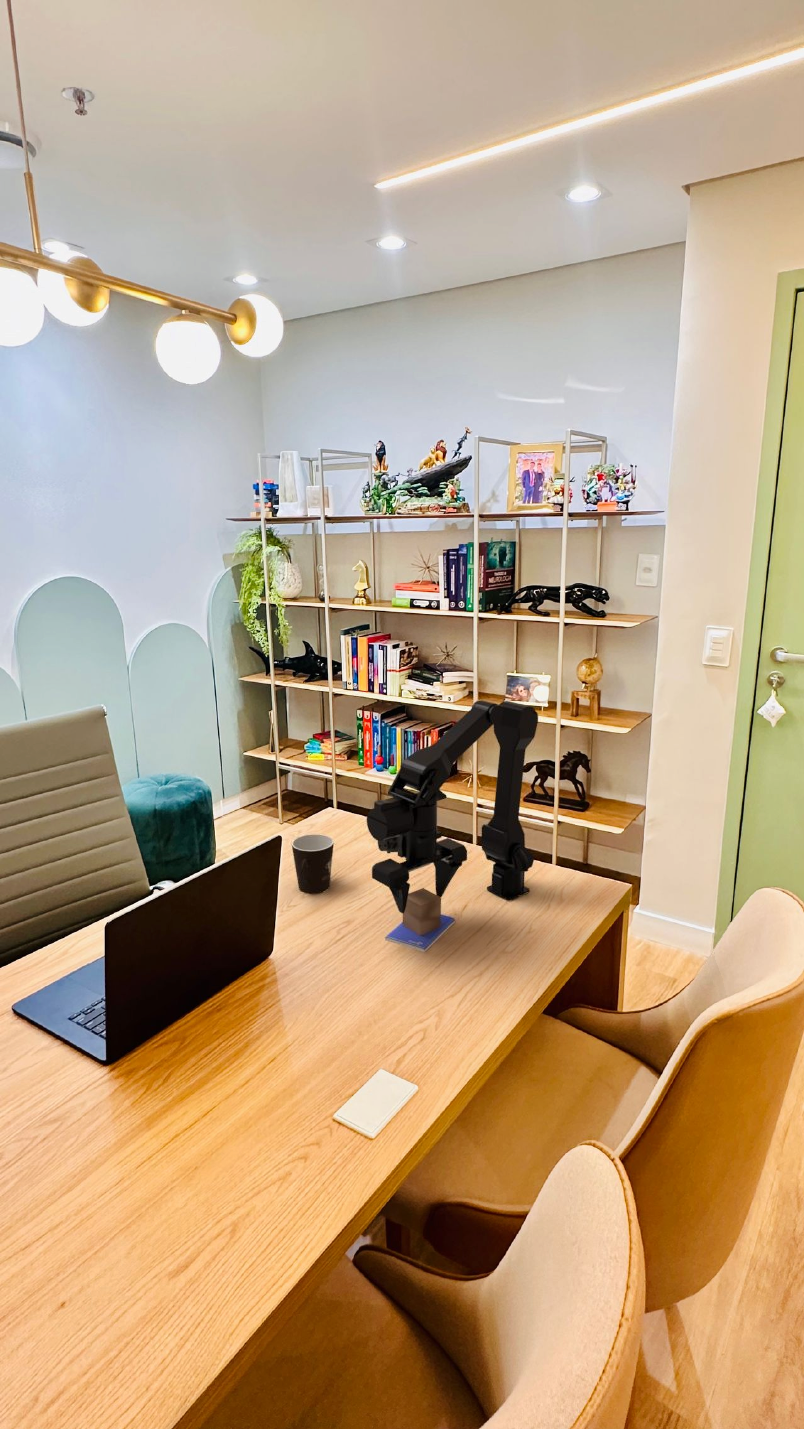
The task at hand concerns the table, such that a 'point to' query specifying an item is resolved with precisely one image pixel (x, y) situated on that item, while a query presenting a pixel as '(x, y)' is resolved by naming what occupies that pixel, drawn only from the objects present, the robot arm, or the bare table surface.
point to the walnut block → (422, 912)
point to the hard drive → (416, 941)
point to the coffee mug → (313, 862)
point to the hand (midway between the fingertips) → (420, 904)
